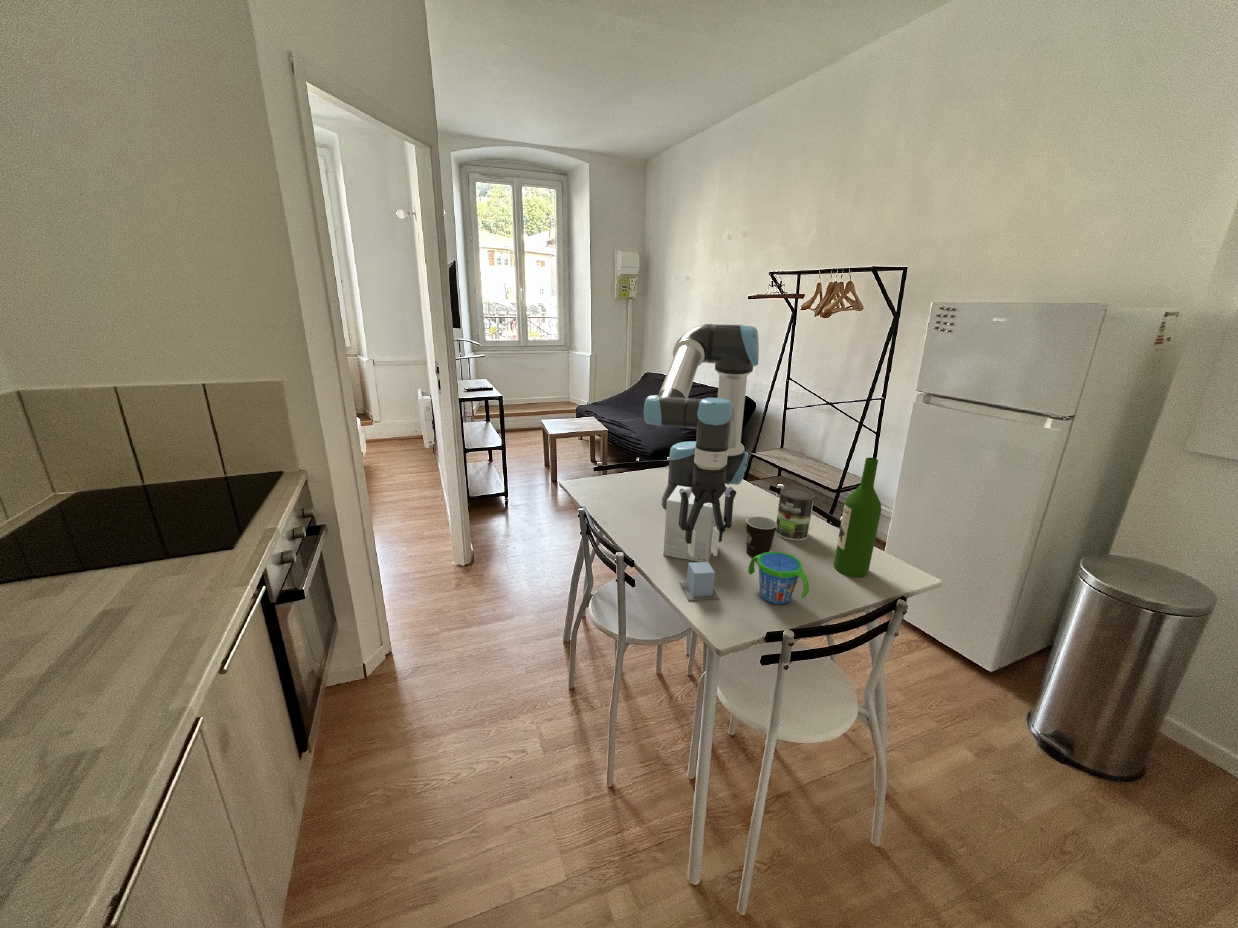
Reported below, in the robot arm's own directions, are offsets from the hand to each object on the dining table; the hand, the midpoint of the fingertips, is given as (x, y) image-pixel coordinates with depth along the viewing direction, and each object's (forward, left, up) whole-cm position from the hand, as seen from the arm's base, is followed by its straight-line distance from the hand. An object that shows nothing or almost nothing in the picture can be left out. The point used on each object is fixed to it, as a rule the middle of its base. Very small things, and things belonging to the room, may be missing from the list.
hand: (702, 553), depth 122 cm
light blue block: (0, 0, -10) cm, 10 cm away
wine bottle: (-6, +46, -11) cm, 48 cm away
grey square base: (0, 0, -11) cm, 11 cm away
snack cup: (+5, +18, -11) cm, 22 cm away
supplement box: (-22, +4, -11) cm, 25 cm away
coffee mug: (-19, +24, -11) cm, 33 cm away
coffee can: (-29, +40, -11) cm, 51 cm away
